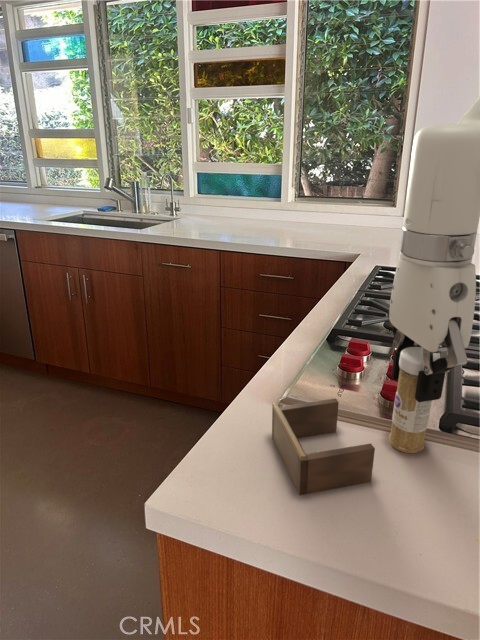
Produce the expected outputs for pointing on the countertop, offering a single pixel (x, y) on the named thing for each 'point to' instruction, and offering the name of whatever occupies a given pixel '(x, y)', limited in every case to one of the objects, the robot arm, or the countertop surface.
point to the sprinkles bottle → (409, 404)
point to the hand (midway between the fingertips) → (415, 386)
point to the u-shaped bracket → (320, 466)
